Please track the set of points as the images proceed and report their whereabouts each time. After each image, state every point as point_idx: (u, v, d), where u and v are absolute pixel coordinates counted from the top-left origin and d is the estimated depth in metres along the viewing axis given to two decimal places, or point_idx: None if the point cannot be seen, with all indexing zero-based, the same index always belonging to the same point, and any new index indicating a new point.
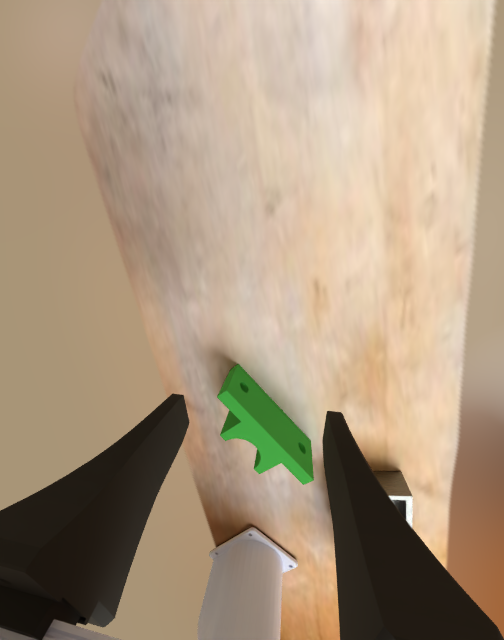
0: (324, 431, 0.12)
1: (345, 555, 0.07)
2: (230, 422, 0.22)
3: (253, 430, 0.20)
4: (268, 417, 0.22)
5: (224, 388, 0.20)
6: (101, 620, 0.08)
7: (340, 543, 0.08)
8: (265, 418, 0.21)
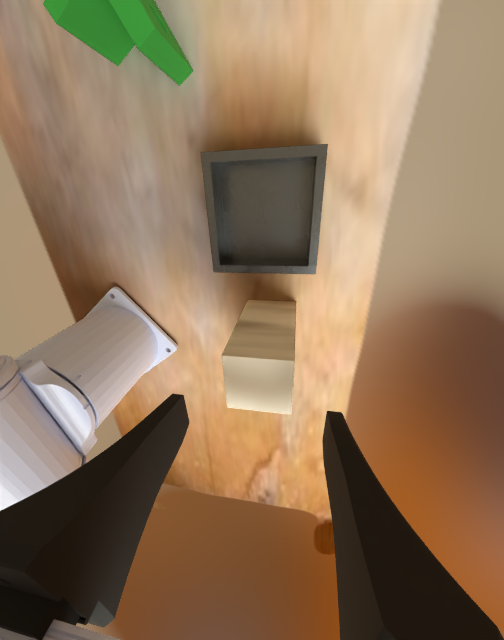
0: (324, 431, 0.12)
1: (345, 555, 0.07)
2: None
3: None
4: None
5: None
6: (101, 620, 0.08)
7: (340, 543, 0.08)
8: None
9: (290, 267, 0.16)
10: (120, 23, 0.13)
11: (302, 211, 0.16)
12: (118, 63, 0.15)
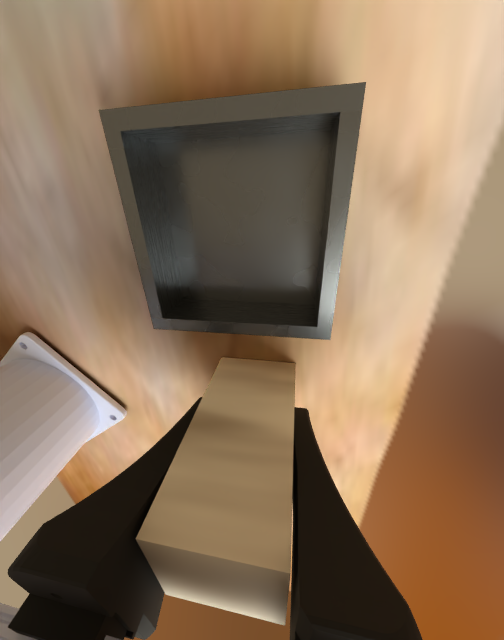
0: None
1: (294, 545, 0.08)
2: None
3: None
4: None
5: None
6: (143, 632, 0.08)
7: (293, 534, 0.08)
8: None
9: (284, 326, 0.09)
10: None
11: (306, 226, 0.09)
12: None
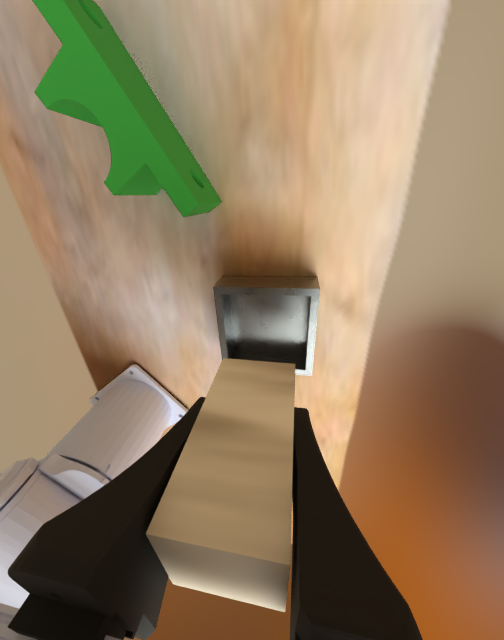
0: None
1: (294, 545, 0.08)
2: None
3: (87, 71, 0.11)
4: (132, 85, 0.12)
5: None
6: (143, 632, 0.08)
7: (294, 534, 0.08)
8: (123, 75, 0.12)
9: None
10: None
11: (300, 320, 0.19)
12: (155, 193, 0.17)
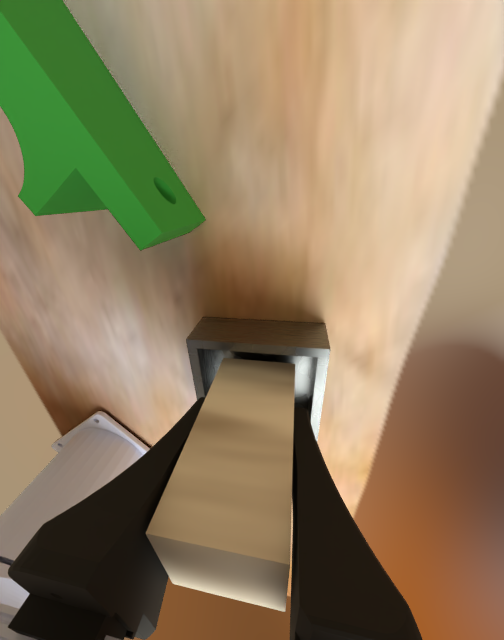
0: None
1: (294, 545, 0.08)
2: None
3: None
4: (55, 43, 0.07)
5: None
6: (143, 632, 0.08)
7: (294, 534, 0.08)
8: (36, 25, 0.07)
9: None
10: None
11: (301, 375, 0.14)
12: None
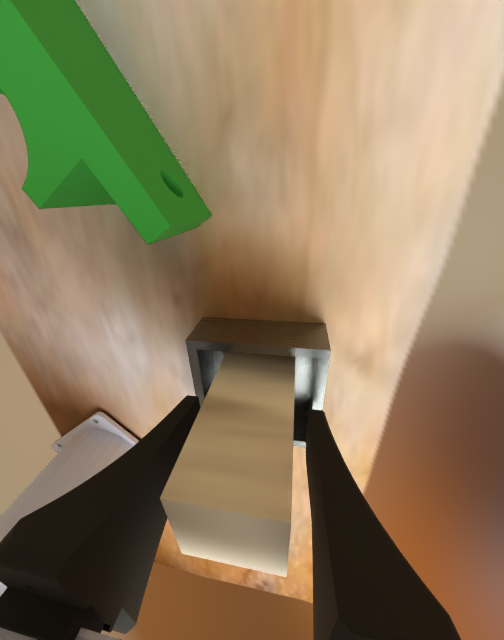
0: (307, 429, 0.12)
1: (318, 549, 0.08)
2: None
3: None
4: (60, 30, 0.07)
5: None
6: (123, 626, 0.08)
7: (315, 538, 0.08)
8: (41, 10, 0.07)
9: None
10: None
11: (301, 376, 0.14)
12: None
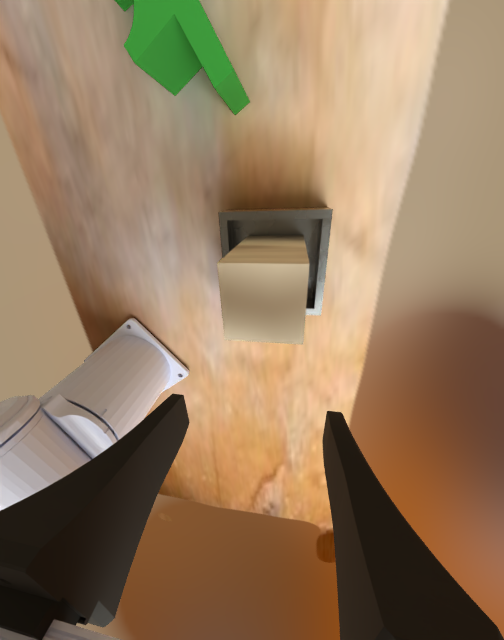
0: (324, 431, 0.12)
1: (345, 555, 0.07)
2: None
3: None
4: None
5: None
6: (101, 620, 0.08)
7: (340, 543, 0.08)
8: None
9: None
10: (186, 59, 0.13)
11: (308, 258, 0.18)
12: (175, 93, 0.15)
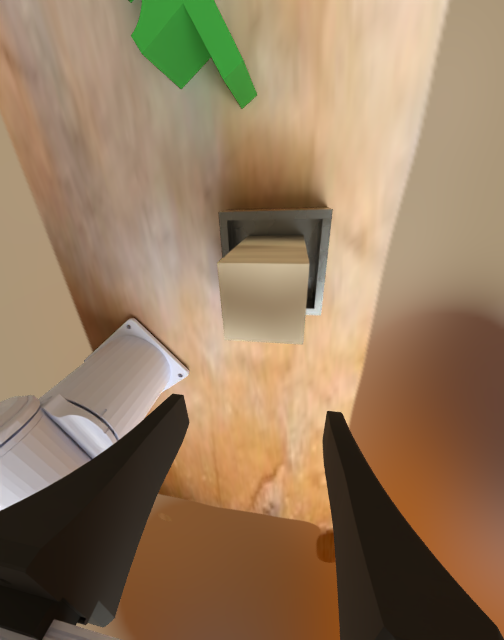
0: (324, 431, 0.12)
1: (345, 555, 0.07)
2: None
3: None
4: None
5: None
6: (101, 620, 0.08)
7: (340, 543, 0.08)
8: None
9: None
10: (193, 51, 0.13)
11: (308, 258, 0.18)
12: (182, 86, 0.15)
